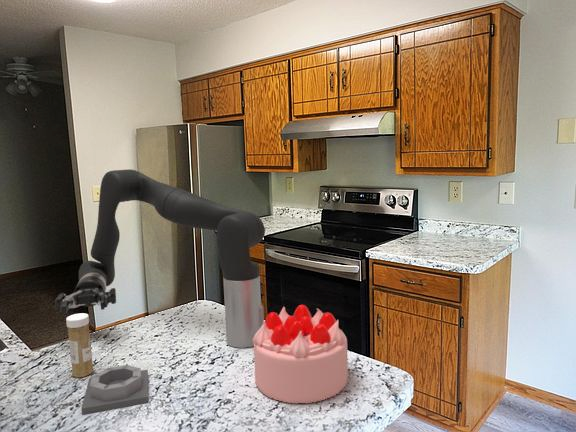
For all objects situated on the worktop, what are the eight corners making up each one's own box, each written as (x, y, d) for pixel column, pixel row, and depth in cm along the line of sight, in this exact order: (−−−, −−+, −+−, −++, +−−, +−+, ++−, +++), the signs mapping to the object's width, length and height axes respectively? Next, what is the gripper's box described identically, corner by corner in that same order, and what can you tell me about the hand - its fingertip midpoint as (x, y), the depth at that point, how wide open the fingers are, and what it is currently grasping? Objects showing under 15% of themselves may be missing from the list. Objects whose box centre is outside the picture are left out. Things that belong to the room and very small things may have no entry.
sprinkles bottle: (95, 374, 101) (90, 316, 99) (73, 380, 98) (67, 321, 96) (91, 366, 104) (86, 310, 102) (70, 372, 102) (64, 315, 100)
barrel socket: (147, 374, 100) (146, 359, 99) (148, 402, 88) (146, 385, 88) (89, 384, 96) (87, 368, 96) (81, 414, 85) (80, 396, 84)
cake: (362, 396, 89) (362, 327, 87) (263, 413, 84) (260, 340, 82) (329, 354, 107) (328, 296, 105) (246, 365, 103) (244, 306, 101)
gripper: (61, 278, 123) (50, 296, 108) (117, 273, 127) (113, 290, 112) (64, 304, 124) (52, 326, 109) (119, 298, 128) (115, 318, 113)
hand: (83, 307), depth 110 cm, fingers open, 8 cm apart
